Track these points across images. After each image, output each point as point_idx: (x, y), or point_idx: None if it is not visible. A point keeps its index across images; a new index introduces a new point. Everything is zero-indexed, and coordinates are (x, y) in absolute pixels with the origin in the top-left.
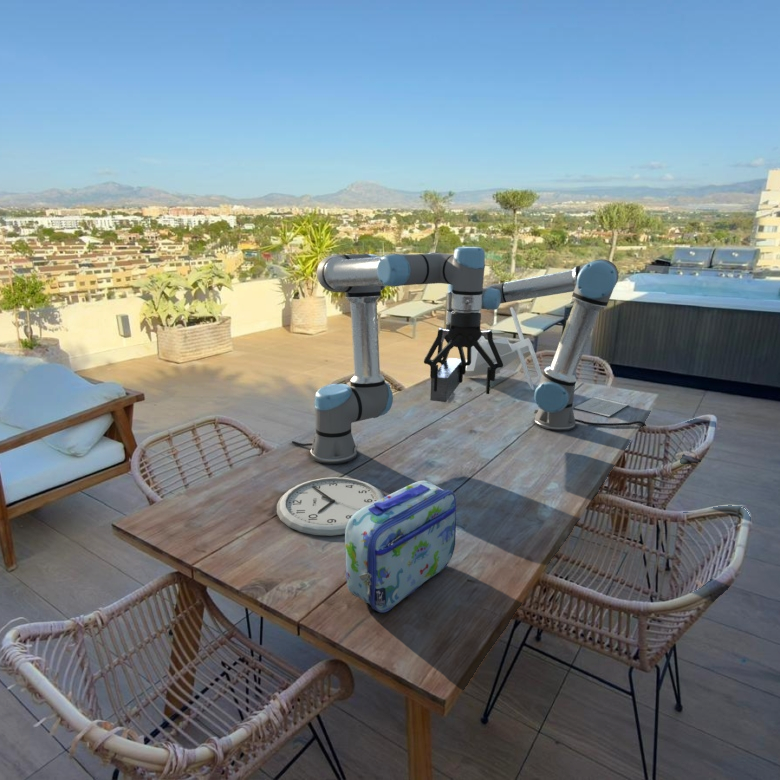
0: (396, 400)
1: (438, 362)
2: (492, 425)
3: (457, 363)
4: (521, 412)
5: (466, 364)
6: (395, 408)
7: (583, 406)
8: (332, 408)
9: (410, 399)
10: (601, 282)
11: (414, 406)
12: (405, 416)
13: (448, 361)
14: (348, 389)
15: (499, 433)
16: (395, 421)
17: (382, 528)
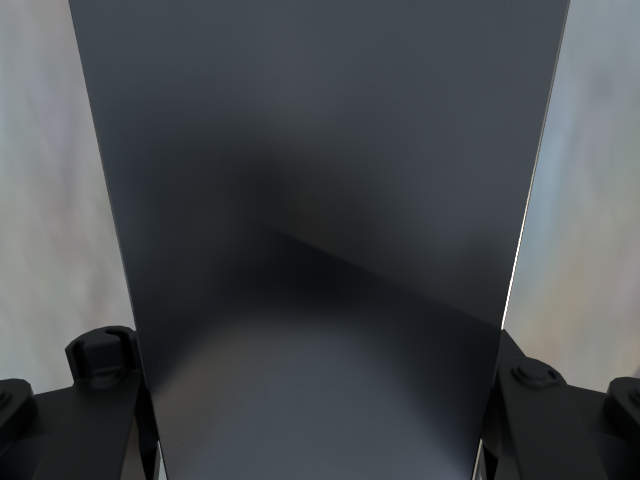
0: (623, 334)
1: (622, 379)
2: (96, 159)
3: (177, 292)
4: (40, 369)
5: (59, 404)
6: (625, 226)
7: None
8: None
9: (554, 367)
10: None
11: (527, 286)
12: (563, 125)
13: (428, 386)
14: None
15: (20, 49)
16: (618, 18)
17: None
